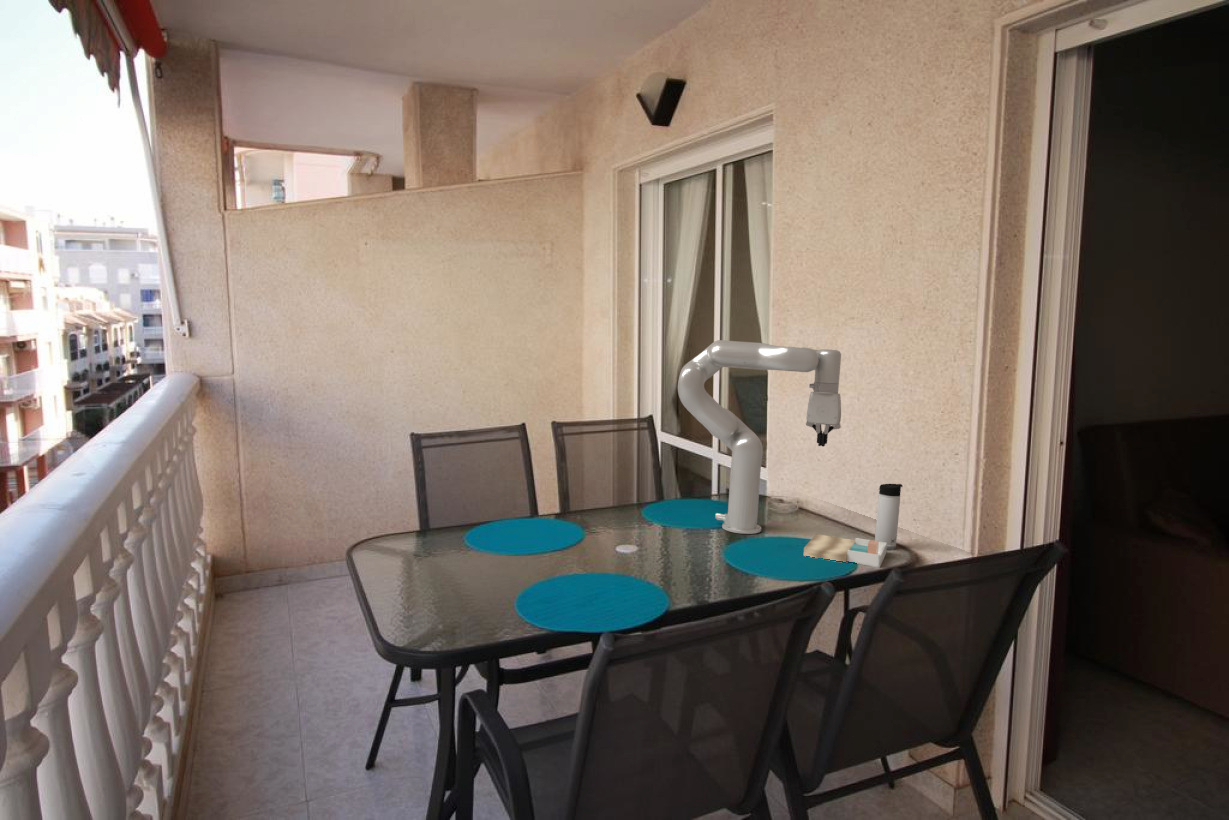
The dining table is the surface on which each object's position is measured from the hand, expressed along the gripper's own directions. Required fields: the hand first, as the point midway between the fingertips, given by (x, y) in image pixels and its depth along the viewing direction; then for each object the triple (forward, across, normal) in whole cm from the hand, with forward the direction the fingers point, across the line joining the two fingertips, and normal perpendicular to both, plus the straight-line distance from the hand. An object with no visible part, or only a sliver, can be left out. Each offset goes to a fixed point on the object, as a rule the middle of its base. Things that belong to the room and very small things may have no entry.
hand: (821, 445), depth 245 cm
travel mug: (+29, +22, -2) cm, 37 cm away
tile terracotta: (+26, +19, -18) cm, 37 cm away
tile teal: (+29, +16, -18) cm, 38 cm away
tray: (+29, +18, -18) cm, 39 cm away
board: (+29, +8, -18) cm, 35 cm away
